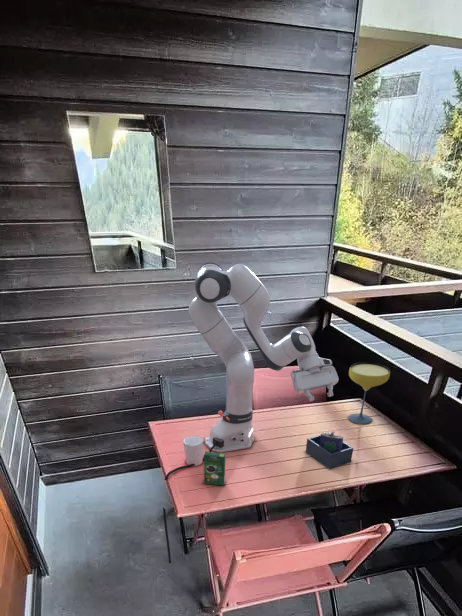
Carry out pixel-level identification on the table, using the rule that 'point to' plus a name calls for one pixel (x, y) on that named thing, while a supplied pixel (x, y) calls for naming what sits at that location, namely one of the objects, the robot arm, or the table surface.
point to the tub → (328, 453)
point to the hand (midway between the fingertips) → (321, 398)
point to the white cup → (193, 450)
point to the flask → (331, 442)
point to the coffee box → (214, 468)
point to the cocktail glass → (367, 383)
